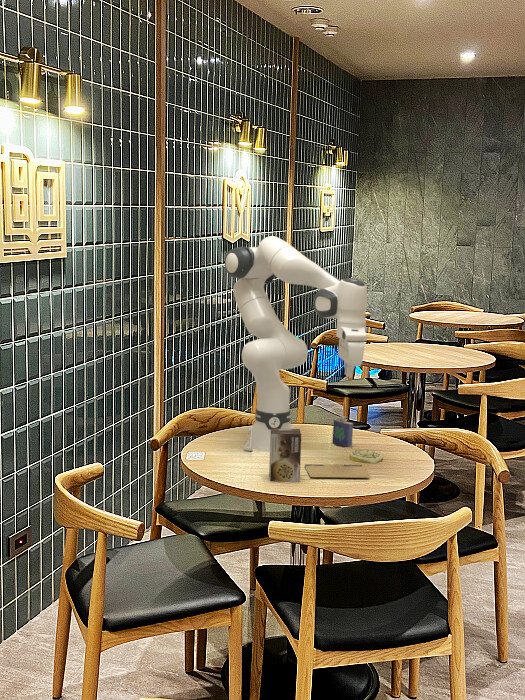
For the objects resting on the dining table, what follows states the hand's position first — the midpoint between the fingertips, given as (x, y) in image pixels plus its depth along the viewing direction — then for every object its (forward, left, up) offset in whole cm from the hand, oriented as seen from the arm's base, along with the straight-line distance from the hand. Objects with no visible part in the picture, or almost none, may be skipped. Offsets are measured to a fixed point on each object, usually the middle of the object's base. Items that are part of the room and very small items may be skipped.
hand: (348, 376), depth 257 cm
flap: (+4, -3, -31) cm, 31 cm away
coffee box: (+10, -20, -31) cm, 39 cm away
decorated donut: (-13, +10, -32) cm, 36 cm away
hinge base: (+4, -3, -31) cm, 32 cm away
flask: (-35, +6, -31) cm, 47 cm away
